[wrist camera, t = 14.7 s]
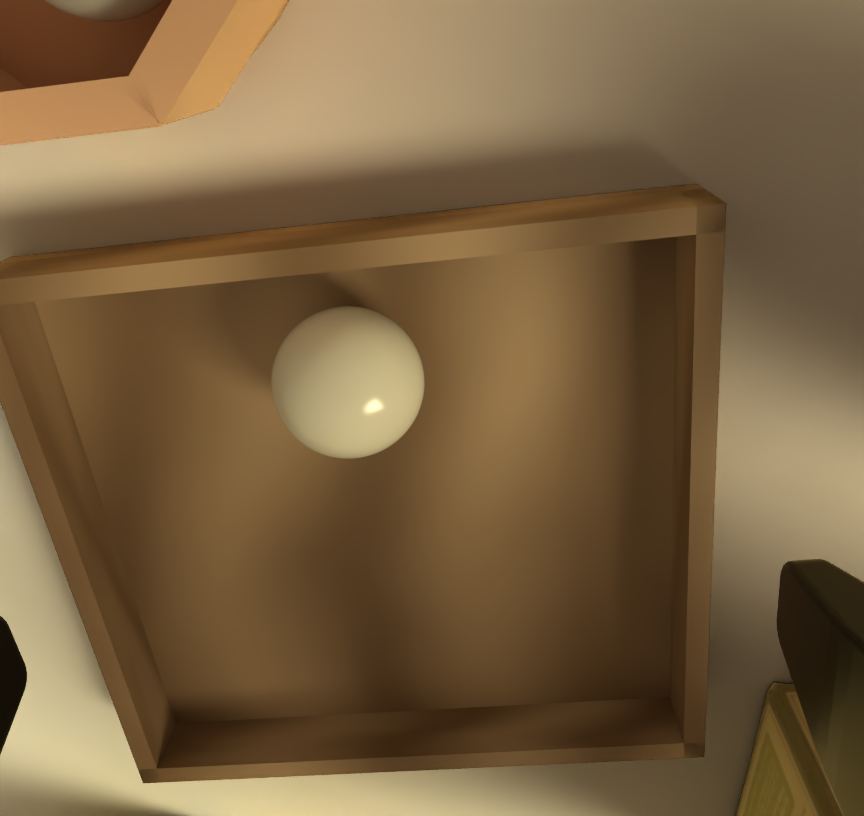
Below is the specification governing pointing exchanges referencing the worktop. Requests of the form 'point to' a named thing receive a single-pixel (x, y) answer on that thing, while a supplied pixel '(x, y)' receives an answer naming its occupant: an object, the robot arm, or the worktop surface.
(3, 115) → the bowl
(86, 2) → the pebble
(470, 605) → the tray
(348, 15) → the worktop surface
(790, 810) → the food packaging
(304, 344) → the pebble
